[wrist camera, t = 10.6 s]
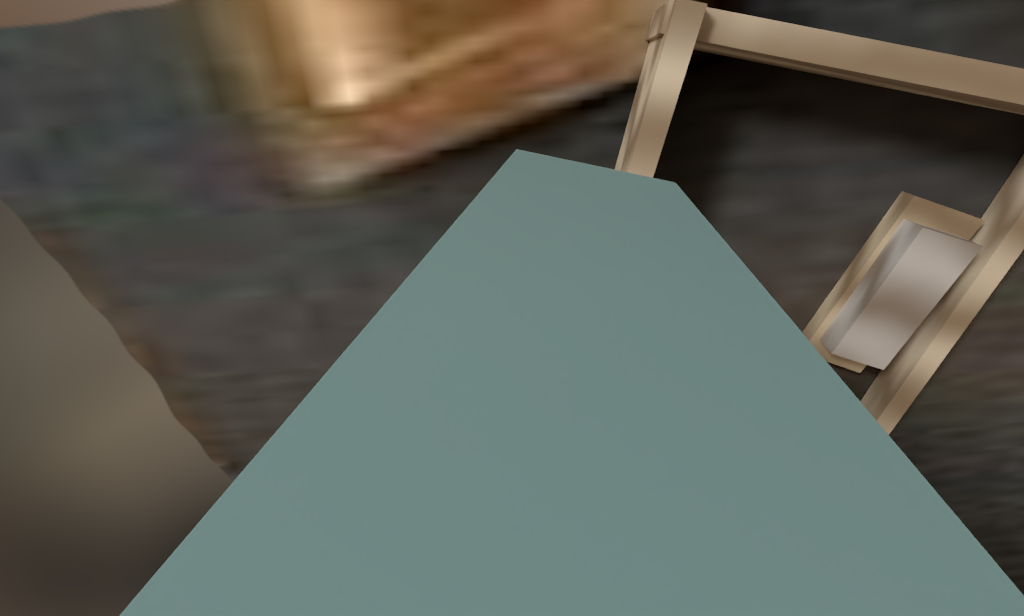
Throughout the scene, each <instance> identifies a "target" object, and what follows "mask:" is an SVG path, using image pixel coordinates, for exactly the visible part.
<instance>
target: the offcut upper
mask: <svg viewBox="0 0 1024 616" xmlns="http://www.w3.org/2000/svg"><path fill="white" fill-rule="evenodd" d="M982 247H983V246H981V245H979V244H976V243H974V242H972V241H969V240H967V239H965V238H962V237H960V236H957V235H954V234H950V233H947V232H944V231H941V230H938V229H935V228H931V227H928V226H925V225H922V224H919V223H915V222H912V221H909V220H906V219H904V220H903V221H902V223H901V224H900V225H899V227H898V228H897V230H896V231H895V233H894V234H893V235H892V237H891V238H890V240H889V241H888V243H887V244H886V246H885V247H884V248H883V250H882V251H881V253H880V254H879V256H878V257H877V258H876V260H875V261H874V263H873V264H872V266H871V267H870V269H869V270H868V271H867V273H866V274H865V276H864V277H863V279H862V280H861V281H860V283H859V284H858V286H857V287H856V289H855V290H854V291H853V293H852V294H851V296H850V297H849V299H848V300H847V302H846V303H845V304H844V306H843V307H842V309H841V310H840V312H839V313H838V314H837V316H836V317H835V319H834V320H833V322H832V323H831V325H830V326H829V327H828V329H827V330H826V332H825V333H824V335H823V336H822V337H821V339H820V341H821V342H822V343H823V344H824V346H825V347H826V348H827V349H828V350H829V351H830V352H831V354H834V355H837V356H840V357H844V358H847V359H850V360H853V361H856V362H859V363H863V364H866V365H869V366H872V367H875V368H879V369H882V370H884V369H885V368H886V367H887V365H888V364H889V363H890V362H891V360H892V359H893V358H894V357H895V355H896V354H897V353H898V352H899V350H900V349H901V348H902V347H903V345H904V344H905V343H906V342H907V340H908V339H909V338H910V337H911V335H912V334H913V333H914V332H915V330H916V329H917V328H918V327H919V325H920V324H921V323H922V322H923V320H924V319H925V318H926V317H927V316H928V314H929V313H930V312H931V311H932V309H933V308H934V307H935V306H936V304H937V303H938V302H939V301H940V299H941V298H942V297H943V296H944V294H945V293H946V292H947V291H948V289H949V288H950V287H951V286H952V284H953V283H954V282H955V281H956V279H957V278H958V277H959V276H960V274H961V273H962V272H963V271H964V269H965V268H966V267H967V266H968V264H969V263H970V262H971V261H972V259H973V258H974V257H975V256H976V254H977V253H978V252H979V251H980V249H981V248H982Z"/></svg>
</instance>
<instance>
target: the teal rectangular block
mask: <svg viewBox="0 0 1024 616" xmlns="http://www.w3.org/2000/svg"><path fill="white" fill-rule="evenodd" d="M120 616H1024V595H1023V594H1022V593H1021V592H1020V591H1019V589H1018V588H1017V587H1016V586H1015V585H1014V583H1013V582H1012V581H1011V580H1010V579H1009V577H1008V576H1007V575H1006V574H1005V573H1004V572H1003V570H1002V569H1001V568H1000V567H999V566H998V564H997V563H996V562H995V561H994V560H993V558H992V557H991V556H990V555H989V554H988V553H987V551H986V550H985V549H984V548H983V547H982V545H981V544H980V543H979V542H978V541H977V540H976V538H975V537H974V536H973V535H972V534H971V532H970V531H969V530H968V529H967V528H966V526H965V525H964V524H963V523H962V522H961V521H960V519H959V518H958V517H957V516H956V515H955V513H954V512H953V511H952V510H951V509H950V507H949V506H948V505H947V504H946V503H945V502H944V500H943V499H942V498H941V497H940V496H939V494H938V493H937V492H936V491H935V490H934V489H933V487H932V486H931V485H930V484H929V483H928V481H927V480H926V479H925V478H924V477H923V475H922V474H921V473H920V472H919V471H918V470H917V468H916V467H915V466H914V465H913V464H912V462H911V461H910V460H909V459H908V458H907V456H906V455H905V454H904V453H903V452H902V451H901V449H900V448H899V447H898V446H897V445H896V443H895V442H894V441H893V440H892V439H891V438H890V436H889V435H888V434H887V433H886V432H885V430H884V429H883V428H882V427H881V426H880V424H879V423H878V422H877V421H876V420H875V419H874V417H873V416H872V415H871V414H870V413H869V411H868V410H867V409H866V408H865V407H864V406H863V404H862V403H861V402H860V401H859V400H858V398H857V397H856V396H855V395H854V394H853V392H852V391H851V390H850V389H849V388H848V387H847V385H846V384H845V383H844V382H843V381H842V379H841V378H840V377H839V376H838V375H837V373H836V372H835V371H834V370H833V369H832V368H831V366H830V365H829V364H828V363H827V362H826V360H825V359H824V358H823V357H822V356H821V355H820V353H819V352H818V351H817V350H816V349H815V347H814V346H813V345H812V344H811V343H810V341H809V340H808V339H807V338H806V337H805V336H804V334H803V333H802V332H801V331H800V330H799V328H798V327H797V326H796V325H795V324H794V322H793V321H792V320H791V319H790V318H789V317H788V315H787V314H786V313H785V312H784V311H783V309H782V308H781V307H780V306H779V305H778V304H777V302H776V301H775V300H774V299H773V298H772V296H771V295H770V294H769V293H768V292H767V290H766V289H765V288H764V287H763V286H762V285H761V283H760V282H759V281H758V280H757V279H756V277H755V276H754V275H753V274H752V273H751V271H750V270H749V269H748V268H747V267H746V266H745V264H744V263H743V262H742V261H741V260H740V258H739V257H738V256H737V255H736V254H735V253H734V251H733V250H732V249H731V248H730V247H729V245H728V244H727V243H726V242H725V241H724V239H723V238H722V237H721V236H720V235H719V234H718V232H717V231H716V230H715V229H714V228H713V226H712V225H711V224H710V223H709V222H708V220H707V219H706V218H705V217H704V216H703V215H702V213H701V212H700V211H699V210H698V209H697V207H696V206H695V205H694V204H693V203H692V202H691V200H690V199H689V198H688V197H687V196H686V194H685V193H684V192H683V191H682V190H681V188H680V187H679V186H678V185H677V184H676V183H675V182H671V181H666V180H661V179H656V178H652V177H647V176H642V175H637V174H633V173H628V172H623V171H618V170H613V169H609V168H604V167H599V166H594V165H590V164H585V163H580V162H575V161H570V160H566V159H561V158H556V157H551V156H546V155H542V154H537V153H532V152H527V151H523V150H518V149H516V151H515V152H514V153H513V154H512V155H511V156H510V158H509V159H508V160H507V161H506V162H505V163H504V165H503V166H502V167H501V168H500V169H499V170H498V172H497V173H496V174H495V175H494V176H493V178H492V179H491V180H490V181H489V182H488V183H487V185H486V186H485V187H484V188H483V189H482V190H481V192H480V193H479V194H478V195H477V196H476V197H475V199H474V200H473V201H472V202H471V203H470V205H469V206H468V207H467V208H466V209H465V210H464V212H463V213H462V214H461V215H460V216H459V217H458V219H457V220H456V221H455V222H454V223H453V225H452V226H451V227H450V228H449V229H448V230H447V232H446V233H445V234H444V235H443V236H442V237H441V239H440V240H439V241H438V242H437V243H436V244H435V246H434V247H433V248H432V249H431V250H430V252H429V253H428V254H427V255H426V256H425V257H424V259H423V260H422V261H421V262H420V263H419V264H418V266H417V267H416V268H415V269H414V270H413V271H412V273H411V274H410V275H409V276H408V277H407V279H406V280H405V281H404V282H403V283H402V284H401V286H400V287H399V288H398V289H397V290H396V291H395V293H394V294H393V295H392V296H391V297H390V298H389V300H388V301H387V302H386V303H385V304H384V306H383V307H382V308H381V309H380V310H379V311H378V313H377V314H376V315H375V316H374V317H373V318H372V320H371V321H370V322H369V323H368V324H367V326H366V327H365V328H364V329H363V330H362V331H361V333H360V334H359V335H358V336H357V337H356V338H355V340H354V341H353V342H352V343H351V344H350V345H349V347H348V348H347V349H346V350H345V351H344V353H343V354H342V355H341V356H340V357H339V358H338V360H337V361H336V362H335V363H334V364H333V365H332V367H331V368H330V369H329V370H328V371H327V372H326V374H325V375H324V376H323V377H322V378H321V380H320V381H319V382H318V383H317V384H316V385H315V387H314V388H313V389H312V390H311V391H310V392H309V394H308V395H307V396H306V397H305V398H304V400H303V401H302V402H301V403H300V404H299V405H298V407H297V408H296V409H295V410H294V411H293V412H292V414H291V415H290V416H289V417H288V418H287V419H286V421H285V422H284V423H283V424H282V425H281V427H280V428H279V429H278V430H277V431H276V432H275V434H274V435H273V436H272V437H271V438H270V439H269V441H268V442H267V443H266V444H265V445H264V446H263V448H262V449H261V450H260V451H259V452H258V454H257V455H256V456H255V457H254V458H253V459H252V461H251V462H250V463H249V464H248V465H247V466H246V468H245V469H244V470H243V471H242V472H241V474H240V475H239V476H238V477H237V478H236V479H235V481H234V482H233V483H232V484H231V485H230V487H229V488H228V489H227V490H226V491H225V492H224V494H223V495H222V496H221V497H220V498H219V499H218V501H217V502H216V503H215V504H214V505H213V506H212V508H211V509H210V510H209V511H208V512H207V513H206V515H205V516H204V517H203V518H202V519H201V521H200V522H199V523H198V524H197V525H196V526H195V528H194V529H193V530H192V531H191V532H190V533H189V535H188V536H187V537H186V538H185V539H184V540H183V542H182V543H181V544H180V545H179V547H178V548H177V549H176V550H175V551H174V552H173V553H172V555H171V556H170V557H169V558H168V559H167V561H166V562H165V563H164V564H163V565H162V566H161V567H160V569H159V570H158V571H157V572H156V573H155V575H154V576H153V577H152V578H151V579H150V581H149V582H148V583H147V584H146V585H145V586H144V587H143V589H142V590H141V591H140V592H139V593H138V594H137V596H136V597H135V598H134V599H133V600H132V602H131V603H130V604H129V605H128V606H127V607H126V609H125V610H124V611H123V612H122V613H121V614H120Z"/></svg>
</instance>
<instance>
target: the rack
mask: <svg viewBox="0 0 1024 616" xmlns="http://www.w3.org/2000/svg"><path fill="white" fill-rule="evenodd" d="M646 40H648V41H650V43H649V46H648V50H647V54H646V57H645V61H644V64H643V68H642V72H641V75H640V79H639V83H638V86H637V90H636V94H635V97H634V101H633V105H632V108H631V112H630V116H629V119H628V123H627V126H626V130H625V134H624V137H623V141H622V145H621V148H620V152H619V156H618V159H617V163H616V167H615V170H618V171H623V172H628V173H633V174H637V175H642V176H647V177H652V178H653V176H654V173H655V170H656V167H657V163H658V160H659V157H660V154H661V151H662V147H663V144H664V141H665V138H666V135H667V131H668V128H669V125H670V122H671V119H672V116H673V112H674V109H675V106H676V103H677V100H678V96H679V93H680V90H681V87H682V84H683V81H684V77H685V74H686V71H687V68H688V65H689V61H690V58H691V55H692V52H693V50H698V51H703V52H708V53H713V54H718V55H724V56H729V57H734V58H739V59H744V60H749V61H754V62H759V63H764V64H769V65H774V66H779V67H784V68H789V69H794V70H799V71H804V72H809V73H814V74H819V75H824V76H829V77H834V78H840V79H845V80H850V81H855V82H860V83H865V84H870V85H875V86H880V87H885V88H890V89H895V90H900V91H905V92H910V93H915V94H920V95H925V96H930V97H935V98H940V99H945V100H950V101H956V102H961V103H966V104H971V105H976V106H981V107H986V108H991V109H996V110H1001V111H1006V112H1011V113H1016V114H1021V115H1024V69H1022V68H1016V67H1011V66H1006V65H1001V64H996V63H991V62H986V61H981V60H975V59H970V58H965V57H960V56H955V55H950V54H945V53H939V52H934V51H929V50H924V49H919V48H914V47H909V46H903V45H898V44H893V43H888V42H883V41H878V40H873V39H868V38H862V37H857V36H852V35H847V34H842V33H837V32H832V31H826V30H821V29H816V28H811V27H806V26H801V25H796V24H791V23H785V22H780V21H775V20H770V19H765V18H760V17H755V16H749V15H744V14H739V13H734V12H729V11H724V10H719V9H713V8H708V7H707V4H705V3H700V2H695V1H690V0H674V1H672V0H668V1H667V2H666V3H665V4H664V5H662V6H661V7H660V8H659V9H658V10H657V11H655V12H654V13H653V17H652V20H651V24H650V28H649V31H648V35H647V39H646ZM981 219H982V220H985V221H984V223H983V224H982V225H981V226H980V228H979V229H978V230H977V231H976V232H975V234H974V235H973V236H972V237H971V239H970V240H969V241H972V242H974V243H976V244H979V245H981V246H983V247H982V248H981V249H980V251H979V252H978V253H977V254H976V256H975V257H974V258H973V259H972V261H971V262H970V263H969V264H968V266H967V267H966V268H965V269H964V271H963V272H962V273H961V274H960V276H959V277H958V278H957V279H956V281H955V282H954V283H953V284H952V286H951V287H950V288H949V289H948V291H947V292H946V293H945V294H944V296H943V297H942V298H941V299H940V301H939V302H938V303H937V304H936V306H935V307H934V308H933V309H932V311H931V312H930V313H929V314H928V316H927V317H926V318H925V319H924V320H923V322H922V323H921V324H920V325H919V327H918V328H917V329H916V330H915V332H914V333H913V334H912V335H911V337H910V338H909V339H908V340H907V342H906V343H905V344H904V345H903V347H902V348H901V349H900V350H899V352H898V353H897V354H896V355H895V357H894V358H893V359H892V360H891V362H890V363H889V364H888V365H887V367H886V368H885V369H884V370H882V369H881V371H880V372H879V374H878V376H877V377H876V379H875V380H874V382H873V383H872V385H871V386H870V388H869V389H868V391H867V392H866V394H865V395H864V397H863V398H862V400H861V401H860V402H861V403H862V404H863V406H864V407H865V408H866V409H867V410H868V411H869V413H870V414H871V415H872V416H873V417H874V419H875V420H876V421H877V422H878V423H879V424H880V426H881V427H882V428H883V429H884V430H885V432H886V433H887V434H888V435H889V434H890V433H891V431H892V430H893V428H894V427H895V426H896V424H897V423H898V422H899V420H900V419H901V417H902V416H903V415H904V413H905V412H906V411H907V409H908V408H909V406H910V405H911V404H912V402H913V401H914V400H915V398H916V397H917V395H918V394H919V393H920V391H921V390H922V389H923V387H924V386H925V384H926V383H927V382H928V380H929V379H930V377H931V376H932V375H933V373H934V372H935V371H936V369H937V368H938V366H939V365H940V364H941V362H942V361H943V360H944V358H945V357H946V355H947V354H948V353H949V351H950V350H951V349H952V347H953V346H954V344H955V343H956V342H957V340H958V339H959V338H960V336H961V335H962V333H963V332H964V331H965V329H966V328H967V327H968V325H969V324H970V322H971V321H972V320H973V318H974V317H975V316H976V314H977V313H978V311H979V310H980V309H981V307H982V306H983V305H984V303H985V302H986V300H987V299H988V298H989V296H990V295H991V294H992V292H993V291H994V289H995V288H996V287H997V285H998V284H999V282H1000V281H1001V280H1002V278H1003V277H1004V276H1005V274H1006V273H1007V271H1008V270H1009V269H1010V267H1011V266H1012V265H1013V263H1014V262H1015V260H1016V259H1017V258H1018V256H1019V255H1020V254H1021V252H1022V251H1023V249H1024V154H1023V156H1022V157H1021V159H1020V160H1019V162H1018V164H1017V165H1016V167H1015V168H1014V170H1013V171H1012V173H1011V174H1010V176H1009V177H1008V179H1007V180H1006V182H1005V183H1004V185H1003V186H1002V188H1001V189H1000V191H999V192H998V194H997V195H996V197H995V198H994V200H993V201H992V203H991V204H990V206H989V207H988V209H987V210H986V212H985V213H984V215H983V217H982V218H981Z"/></svg>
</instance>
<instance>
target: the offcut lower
mask: <svg viewBox="0 0 1024 616" xmlns="http://www.w3.org/2000/svg"><path fill="white" fill-rule="evenodd" d="M904 219H906V220H909V221H912V222H915V223H919V224H922V225H925V226H928V227H931V228H935V229H938V230H941V231H944V232H947V233H950V234H954V235H957V236H960V237H962V238H965V239H967V240H970V239H971V237H972V236H973V235H974V234H975V232H976V231H977V230H978V229H979V228H980V226H981V225H982V224H983V223H984V221H985V220H982V219H980V218H977V217H974V216H971V215H969V214H966V213H963V212H960V211H957V210H954V209H951V208H949V207H946V206H943V205H940V204H937V203H934V202H931V201H929V200H926V199H923V198H920V197H917V196H914V195H911V194H909V193H906V192H903V191H902V192H901V193H900V195H899V196H898V198H897V199H896V201H895V202H894V203H893V205H892V206H891V208H890V209H889V210H888V212H887V213H886V215H885V216H884V217H883V219H882V220H881V222H880V223H879V225H878V226H877V227H876V229H875V230H874V232H873V233H872V234H871V236H870V237H869V239H868V240H867V241H866V243H865V244H864V246H863V247H862V249H861V250H860V251H859V253H858V254H857V256H856V257H855V258H854V260H853V261H852V263H851V264H850V265H849V267H848V268H847V270H846V271H845V273H844V274H843V275H842V277H841V278H840V280H839V281H838V282H837V284H836V285H835V287H834V288H833V290H832V291H831V292H830V294H829V295H828V297H827V298H826V299H825V301H824V302H823V304H822V305H821V306H820V308H819V309H818V311H817V312H816V314H815V315H814V316H813V318H812V319H811V321H810V322H809V323H808V325H807V326H806V328H805V329H804V330H803V332H802V333H803V334H804V336H805V337H806V338H807V339H808V340H809V341H810V343H811V344H812V345H813V346H814V347H815V349H816V350H817V351H818V352H819V353H820V355H821V356H822V357H823V358H824V359H825V360H826V362H829V363H832V364H835V365H838V366H841V367H844V368H847V369H850V370H853V371H855V372H858V373H861V372H862V370H863V369H864V368H865V367H866V366H867V365H866V364H863V363H859V362H856V361H853V360H850V359H847V358H844V357H840V356H837V355H834V354H831V352H830V351H829V350H828V349H827V348H826V347H825V346H824V344H823V343H822V342H821V341H820V339H821V337H822V336H823V335H824V333H825V332H826V330H827V329H828V327H829V326H830V325H831V323H832V322H833V320H834V319H835V317H836V316H837V314H838V313H839V312H840V310H841V309H842V307H843V306H844V304H845V303H846V302H847V300H848V299H849V297H850V296H851V294H852V293H853V291H854V290H855V289H856V287H857V286H858V284H859V283H860V281H861V280H862V279H863V277H864V276H865V274H866V273H867V271H868V270H869V269H870V267H871V266H872V264H873V263H874V261H875V260H876V258H877V257H878V256H879V254H880V253H881V251H882V250H883V248H884V247H885V246H886V244H887V243H888V241H889V240H890V238H891V237H892V235H893V234H894V233H895V231H896V230H897V228H898V227H899V225H900V224H901V223H902V221H903V220H904Z"/></svg>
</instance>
